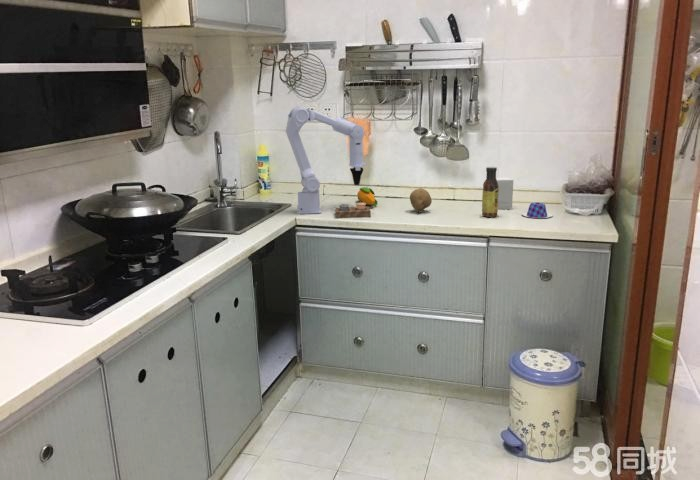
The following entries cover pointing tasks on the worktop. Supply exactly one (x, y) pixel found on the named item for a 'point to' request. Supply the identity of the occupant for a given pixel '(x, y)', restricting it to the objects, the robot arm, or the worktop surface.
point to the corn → (367, 196)
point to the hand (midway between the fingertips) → (356, 184)
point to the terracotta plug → (360, 206)
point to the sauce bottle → (490, 193)
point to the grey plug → (344, 207)
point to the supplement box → (505, 192)
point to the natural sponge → (420, 199)
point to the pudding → (537, 211)
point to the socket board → (352, 213)
